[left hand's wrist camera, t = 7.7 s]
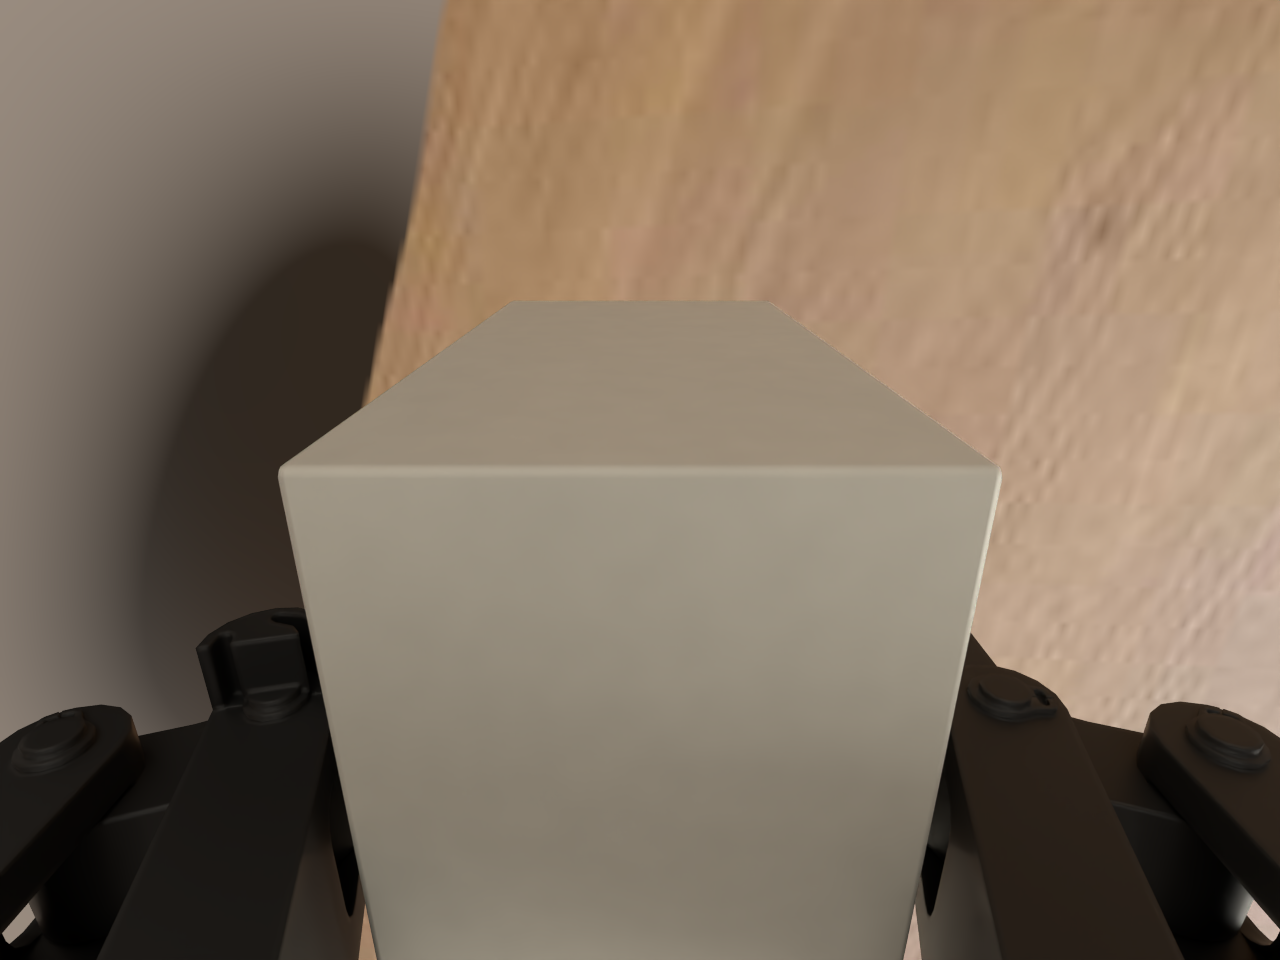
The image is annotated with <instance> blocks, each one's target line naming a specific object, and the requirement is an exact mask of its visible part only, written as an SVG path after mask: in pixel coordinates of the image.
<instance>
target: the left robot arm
mask: <svg viewBox="0 0 1280 960" xmlns="http://www.w3.org/2000/svg"><path fill="white" fill-rule="evenodd" d="M196 651H197V655H198V658H199V662H200V665H201V669H202V672H203V676H204V680H205V683H206V687H207V690H208V694H209V698H210V701H211V705H212V708H213V711H212V713H211V715H210V717H209V720H208V721H205V722H201V723H198V724H194V725H189V726H184V727H179V728H175V729H170V730H165V731H160V732H155V733H150V734H146V735H141V736H138V734H137V731H136V728H135V725H134V722H133V719H132V716H131V715H130V714H128V713H127V712H126V711H125V710H123V709H122V708H121V707H114V706H107V705H95V706H87V707H78V708H73V709H69V710H65V711H62V712H60V713H59V712H57V713H54V714H52V715H49V716H46V717H44V718H42V719H40V720H39V721H37V722H34V723H32V724H30V725H28V726H26V727H24V728H22V729H20V730H18V731H16V732H15V733H13V734H12V735H10V736H9V737H8V738H6V739H5V740H3V741H2V742H0V960H358V958H359V950H360V941H361V933H362V924H363V916H364V907H365V899H364V894H363V889H362V884H361V879H360V874H359V869H358V865H357V860H356V855H355V850H354V845H353V840H352V835H351V831H350V826H349V821H348V816H347V811H346V806H345V801H344V796H343V792H342V787H341V782H340V777H339V772H338V767H337V762H336V757H335V753H334V748H333V743H332V738H331V733H330V728H329V723H328V719H327V714H326V709H325V704H324V699H323V694H322V689H321V684H320V680H319V675H318V670H317V665H316V660H315V655H314V650H313V645H312V641H311V636H310V631H309V626H308V621H307V616H306V611H305V609H302V608H275V609H270V610H265V611H261V612H256V613H251V614H249V615H246V616H244V617H241V618H238V619H236V620H233V621H231V622H228V623H226V624H225V625H223V626H221V627H220V628H218V629H217V630H215V631H213V632H212V633H210V634H209V635H208V636H207V637H206V638H205V639H204V640H203V641H202V642H201V643H200V644H199V645H198V646H197V647H196ZM1253 900H1255V901H1256V902H1257V903H1258V905H1259V906H1260V907H1261V908H1262V909H1263V910H1264V911H1265V913H1266V914H1267V915H1268V916H1269V917H1270V918H1271V920H1272V921H1273V922H1274V923H1275V924H1276V925H1277V926H1278V928H1279V929H1280V738H1279V737H1278V736H1276V735H1275V734H1273V733H1272V732H1270V731H1269V730H1267V729H1266V728H1265V727H1263V726H1261V725H1258V724H1256V723H1254V722H1252V721H1250V720H1248V719H1246V718H1243V717H1242V716H1241V715H1239V714H1237V713H1234V712H1231V711H1228V710H1225V709H1223V710H1222V709H1220V708H1218V707H1214V706H1209V705H1204V704H1196V703H1188V702H1174V703H1167V704H1161V705H1159V706H1158V707H1157V708H1156V709H1154V710H1153V711H1152V712H1151V713H1150V715H1149V718H1148V721H1147V724H1146V727H1145V730H1144V733H1140V732H1135V731H1131V730H1126V729H1121V728H1116V727H1111V726H1106V725H1101V724H1097V723H1092V722H1087V721H1083V720H1080V719H1076V718H1072V717H1071V716H1070V714H1069V712H1068V710H1067V708H1066V707H1065V706H1064V704H1063V703H1062V702H1061V700H1060V699H1059V698H1058V696H1057V695H1056V694H1055V693H1053V692H1052V691H1051V690H1049V689H1048V688H1046V687H1045V686H1044V685H1042V684H1041V683H1040V682H1038V681H1036V680H1034V679H1032V678H1030V677H1027V676H1025V675H1023V674H1021V673H1018V672H1016V671H1013V670H1009V669H1005V668H1001V667H997V666H996V665H995V663H994V662H993V661H992V660H991V658H990V657H989V656H988V654H987V653H986V652H985V651H984V649H983V648H982V647H981V645H980V644H979V643H978V642H977V640H976V639H975V638H974V637H973V635H972V634H971V633H970V637H969V642H968V647H967V652H966V657H965V661H964V666H963V671H962V676H961V681H960V686H959V691H958V695H957V700H956V705H955V710H954V715H953V720H952V725H951V730H950V734H949V739H948V744H947V749H946V754H945V759H944V764H943V768H942V773H941V778H940V783H939V788H938V793H937V798H936V802H935V807H934V812H933V817H932V822H931V827H930V832H929V836H928V841H927V846H926V851H925V856H924V861H923V866H922V870H921V875H920V880H919V885H918V890H917V895H916V900H915V906H916V914H917V923H918V931H919V940H920V948H921V957H922V960H1280V932H1279V934H1278V936H1277V938H1276V939H1275V940H1274V941H1271V940H1269V939H1268V938H1267V937H1266V936H1265V935H1264V934H1263V933H1262V932H1261V931H1260V930H1259V929H1258V928H1257V927H1256V926H1255V925H1254V923H1253V922H1252V921H1251V920H1250V919H1249V917H1248V916H1247V913H1248V911H1249V908H1250V906H1251V904H1252V902H1253ZM28 903H29V905H30V907H31V909H32V911H33V913H34V916H35V919H34V920H33V921H32V922H31V923H30V925H29V926H28V927H27V928H26V929H25V931H24V932H23V933H22V934H21V935H19V936H18V937H17V938H16V939H15V940H14V941H13V942H11V943H10V944H9V943H7V942H6V941H5V939H4V937H3V935H2V933H3V931H4V930H5V929H6V928H7V927H8V926H9V925H10V923H11V922H12V921H13V920H14V919H15V918H16V916H17V915H18V914H19V913H20V912H21V911H22V910H23V908H24V907H25V906H26V905H27V904H28Z"/></svg>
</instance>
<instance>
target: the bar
mask: <svg viewBox="0 0 1280 960" xmlns="http://www.w3.org/2000/svg"><path fill="white" fill-rule="evenodd" d="M278 480H279V485H280V490H281V494H282V499H283V504H284V509H285V514H286V519H287V524H288V529H289V533H290V538H291V543H292V548H293V553H294V558H295V563H296V568H297V572H298V577H299V582H300V587H301V592H302V597H303V601H304V606H305V611H306V616H307V621H308V626H309V631H310V636H311V641H312V645H313V650H314V655H315V660H316V665H317V670H318V675H319V680H320V684H321V689H322V694H323V699H324V704H325V709H326V714H327V719H328V723H329V728H330V733H331V738H332V743H333V748H334V753H335V757H336V762H337V767H338V772H339V777H340V782H341V787H342V792H343V796H344V801H345V806H346V811H347V816H348V821H349V826H350V831H351V835H352V840H353V845H354V850H355V855H356V860H357V865H358V869H359V874H360V879H361V884H362V889H363V894H364V899H365V904H366V908H367V913H368V918H369V923H370V928H371V933H372V938H373V943H374V947H375V952H376V957H377V960H903V958H904V953H905V948H906V943H907V938H908V934H909V929H910V924H911V919H912V914H913V909H914V904H915V900H916V895H917V890H918V885H919V880H920V875H921V870H922V866H923V861H924V856H925V851H926V846H927V841H928V836H929V832H930V827H931V822H932V817H933V812H934V807H935V802H936V798H937V793H938V788H939V783H940V778H941V773H942V768H943V764H944V759H945V754H946V749H947V744H948V739H949V734H950V730H951V725H952V720H953V715H954V710H955V705H956V700H957V695H958V691H959V686H960V681H961V676H962V671H963V666H964V661H965V657H966V652H967V647H968V642H969V637H970V632H971V627H972V623H973V618H974V613H975V608H976V603H977V598H978V593H979V589H980V584H981V579H982V574H983V569H984V564H985V559H986V555H987V550H988V545H989V540H990V535H991V530H992V525H993V521H994V516H995V511H996V506H997V501H998V496H999V491H1000V487H1001V482H1002V472H1001V469H1000V467H999V466H998V465H996V464H995V463H994V462H992V461H991V460H989V459H988V458H987V457H985V456H984V455H982V454H981V453H980V452H978V451H977V450H975V449H974V448H973V447H971V446H970V445H969V444H967V443H966V442H964V441H963V440H962V439H960V438H959V437H957V436H956V435H955V434H953V433H952V432H950V431H949V430H948V429H946V428H945V427H943V426H942V425H941V424H939V423H938V422H937V421H935V420H934V419H932V418H931V417H930V416H928V415H927V414H925V413H924V412H923V411H921V410H920V409H918V408H917V407H916V406H914V405H913V404H911V403H910V402H909V401H907V400H906V399H904V398H903V397H902V396H900V395H899V394H898V393H896V392H895V391H893V390H892V389H891V388H889V387H888V386H886V385H885V384H884V383H882V382H881V381H879V380H878V379H877V378H875V377H874V376H872V375H871V374H870V373H868V372H867V371H865V370H864V369H863V368H861V367H860V366H859V365H857V364H856V363H854V362H853V361H852V360H850V359H849V358H847V357H846V356H845V355H843V354H842V353H840V352H839V351H838V350H836V349H835V348H833V347H832V346H831V345H829V344H828V343H826V342H825V341H824V340H822V339H821V338H820V337H818V336H817V335H815V334H814V333H813V332H811V331H810V330H808V329H807V328H806V327H804V326H803V325H801V324H800V323H799V322H797V321H796V320H794V319H793V318H792V317H790V316H789V315H788V314H786V313H785V312H783V311H782V310H781V309H779V308H778V307H776V306H775V305H774V304H772V303H771V302H769V301H512V302H510V303H509V304H507V305H506V306H504V307H503V308H502V309H500V310H499V311H497V312H496V313H495V314H493V315H492V316H490V317H489V318H488V319H486V320H485V321H483V322H482V323H481V324H479V325H478V326H476V327H475V328H474V329H472V330H471V331H469V332H468V333H467V334H465V335H464V336H462V337H461V338H460V339H458V340H457V341H455V342H454V343H453V344H451V345H450V346H449V347H447V348H446V349H444V350H443V351H442V352H440V353H439V354H437V355H436V356H435V357H433V358H432V359H430V360H429V361H428V362H426V363H425V364H423V365H422V366H421V367H419V368H418V369H416V370H415V371H414V372H412V373H411V374H409V375H408V376H407V377H405V378H404V379H402V380H401V381H400V382H398V383H397V384H395V385H394V386H393V387H391V388H390V389H388V390H387V391H386V392H384V393H383V394H381V395H380V396H379V397H377V398H376V399H374V400H373V401H372V402H370V403H369V404H367V405H366V406H365V407H363V408H362V409H360V410H359V411H358V412H356V413H355V414H353V415H352V416H351V417H349V418H348V419H346V420H345V421H344V422H342V423H341V424H339V425H338V426H337V427H335V428H334V429H332V430H331V431H330V432H328V433H327V434H325V435H324V436H323V437H321V438H320V439H318V440H317V441H316V442H314V443H313V444H312V445H310V446H309V447H307V448H306V449H305V450H303V451H302V452H300V453H299V454H298V455H296V456H295V457H293V458H292V459H291V460H289V461H288V462H286V463H285V464H284V465H282V466H281V467H280V469H279V474H278Z"/></svg>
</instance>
